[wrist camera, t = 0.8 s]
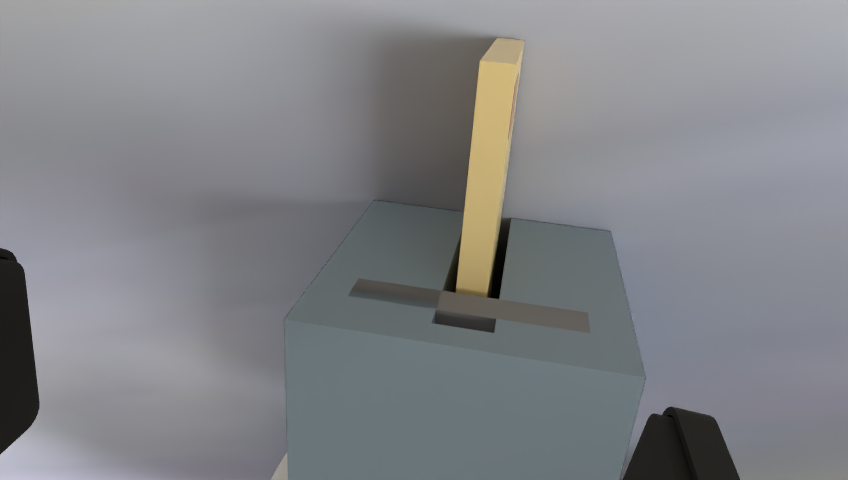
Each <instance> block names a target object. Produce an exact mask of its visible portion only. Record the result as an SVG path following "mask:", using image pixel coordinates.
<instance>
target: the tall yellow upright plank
mask: <svg viewBox="0 0 848 480" xmlns="http://www.w3.org/2000/svg"><path fill="white" fill-rule="evenodd" d="M524 41H525V40H515V39H505V38H497V39H496V40H495V41H494V43H493V44H492V45H491V47H490V48H489V49H488V51H487V52H486V53H485V55H484V56H483V57H482V59H481V60H480V64H479V74H478V83H477V93H476V103H475V112H474V122H473V131H472V141H471V150H470V160H469V170H468V179H467V189H466V198H465V208H464V218H463V227H462V237H461V246H460V256H459V265H458V275H457V285H456V293H461V294H468V295H474V296H481V297H488V298H491V293H492V286H493V278H494V270H495V263H496V255H497V247H498V240H499V232H500V224H501V217H502V209H503V201H504V194H505V186H506V179H507V171H508V163H509V156H510V148H511V140H512V133H513V125H514V117H515V110H516V102H517V95H518V87H519V79H520V72H521V64H522V56H523V49H524Z"/></svg>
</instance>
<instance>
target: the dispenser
mask: <svg viewBox="0 0 848 480" xmlns="http://www.w3.org/2000/svg"><path fill="white" fill-rule="evenodd" d="M463 218H464V212H460V211H452V210H445V209H437V208H430V207H422V206H415V205H407V204H399V203H392V202H384V201H377V200H374V201H373V202H372V204H371V205H370V206H369V208H368V209H367V210H366V212H365V213H364V214H363V216H362V217H361V218H360V219H359V221H358V222H357V223H356V225H355V226H354V227H353V229H352V230H351V231H350V233H349V234H348V235H347V237H346V238H345V239H344V241H343V242H342V243H341V245H340V246H339V247H338V249H337V250H336V251H335V253H334V254H333V255H332V257H331V258H330V259H329V260H328V262H327V263H326V264H325V266H324V267H323V268H322V270H321V271H320V272H319V274H318V275H317V276H316V278H315V279H314V280H313V282H312V283H311V284H310V286H309V287H308V288H307V290H306V291H305V292H304V294H303V295H302V296H301V298H300V299H299V300H298V301H297V303H296V304H295V305H294V307H293V308H292V309H291V311H290V312H289V313H288V315H287V316H286V317H285V319H284V336H285V380H286V423H287V467H288V480H619V479H620V475H621V471H622V468H623V464H624V460H625V456H626V452H627V449H628V445H629V441H630V437H631V433H632V429H633V426H634V422H635V418H636V414H637V410H638V406H639V403H640V399H641V395H642V391H643V387H644V384H645V380H646V376H645V372H644V367H643V363H642V359H641V355H640V351H639V346H638V342H637V338H636V334H635V330H634V326H633V321H632V317H631V313H630V309H629V305H628V301H627V296H626V292H625V288H624V284H623V280H622V276H621V271H620V267H619V263H618V259H617V255H616V251H615V246H614V242H613V238H612V234H611V231H604V230H596V229H589V228H581V227H574V226H566V225H558V224H551V223H543V222H536V221H528V220H521V219H513V218H511V224H510V230H509V237H508V244H507V251H506V257H505V264H504V271H503V278H502V284H501V291H500V298H499V299H494V298H488V297H481V296H474V295H468V294H461V293H456V285H457V275H458V265H459V256H460V246H461V237H462V227H463Z"/></svg>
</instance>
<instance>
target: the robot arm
mask: <svg viewBox="0 0 848 480" xmlns="http://www.w3.org/2000/svg"><path fill="white" fill-rule="evenodd" d="M38 410H39V395H38V386H37V378H36V369H35V360H34V351H33V342H32V334H31V325H30V316H29V307H28V298H27V290H26V281H25V273H24V269H23V267H22V266H21V264H19V263H17V260H16V257H15V256H14V254H13V253H12V252H10V251H8V250H6V249H1V248H0V454H1V453H2V452H3V451H5V450H6V449H7V448H8V447H9V446H10V445H11V444H12V443H13V442H14V441H15V440H16V439H18V438H19V437H20V436H21V435H22V434H23V433H24V432H25V431H26V430H27V429H28V428H29V427H30V426H31V425H32V423H33V422H34V420H35V418H36V416H37V414H38ZM623 480H740V478H739V476H738V473H737V471H736V468H735V466H734V463H733V461H732V458H731V456H730V454H729V451H728V449H727V446H726V444H725V441H724V439H723V436H722V434H721V431H720V429H719V426H718V424H717V422H716V420H715V419H714V418H713V417H711V416H709V415H705V414H701V413H696V412H692V411H688V410H684V409H679V408H675V407H668V408H667V409H666V410H665V411H664V412H663V414H662V415H659V414H651V416H650V417H649V418H648V420H647V422H646V425H645V427H644V430H643V432H642V435H641V437H640V439H639V442H638V444H637V447H636V449H635V452H634V454H633V456H632V459H631V461H630V464H629V466H628V469H627V471H626V473H625V476H624V478H623Z"/></svg>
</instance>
